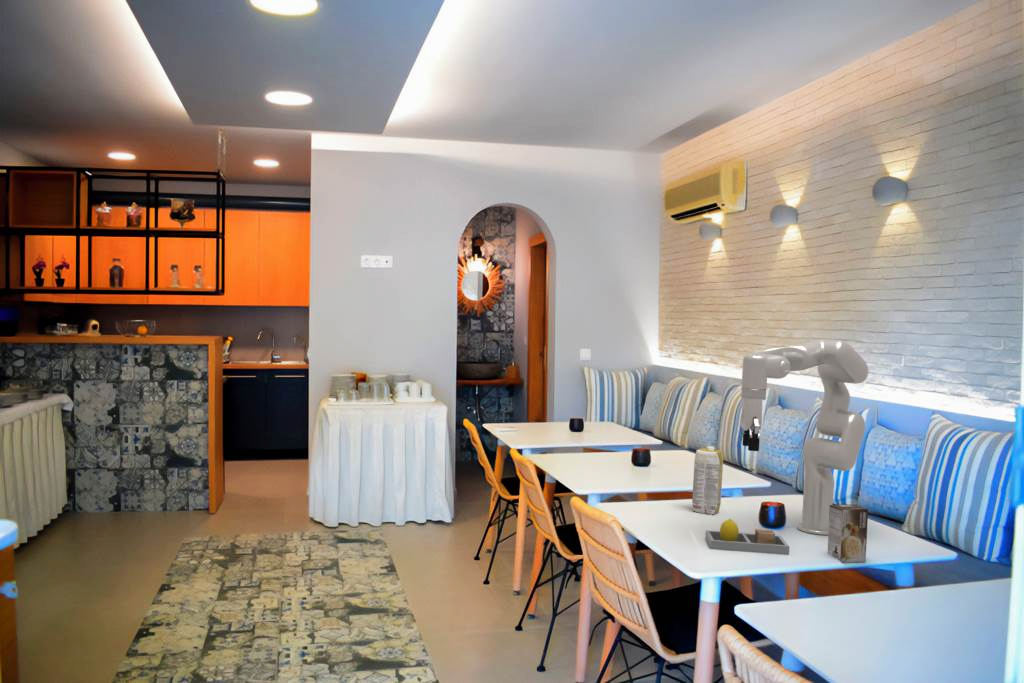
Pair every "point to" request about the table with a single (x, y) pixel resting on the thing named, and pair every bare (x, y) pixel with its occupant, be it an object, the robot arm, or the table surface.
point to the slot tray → (746, 544)
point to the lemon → (729, 531)
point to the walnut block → (764, 536)
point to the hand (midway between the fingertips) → (750, 448)
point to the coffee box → (847, 533)
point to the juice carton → (707, 480)
